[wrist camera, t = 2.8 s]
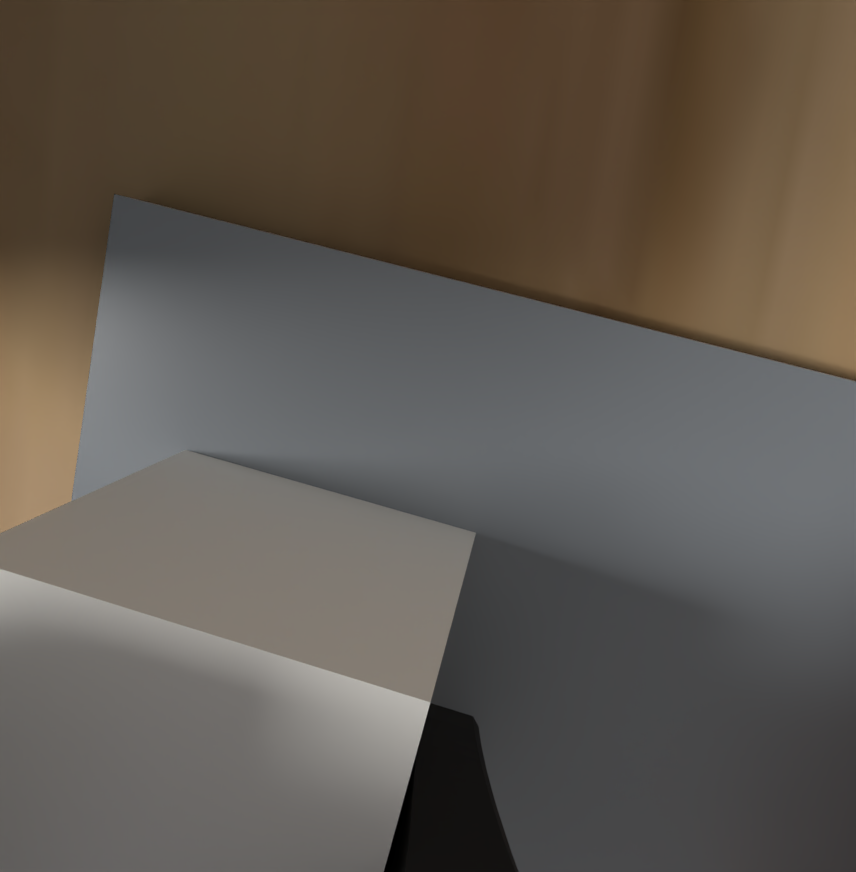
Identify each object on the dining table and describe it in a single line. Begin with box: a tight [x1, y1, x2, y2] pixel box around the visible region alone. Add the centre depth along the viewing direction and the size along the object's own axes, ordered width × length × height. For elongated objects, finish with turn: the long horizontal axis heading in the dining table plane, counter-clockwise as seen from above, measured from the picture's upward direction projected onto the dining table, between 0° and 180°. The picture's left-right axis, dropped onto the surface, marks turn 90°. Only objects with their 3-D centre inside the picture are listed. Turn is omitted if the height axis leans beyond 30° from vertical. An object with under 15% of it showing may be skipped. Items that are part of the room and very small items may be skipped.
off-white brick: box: [0, 450, 476, 872], centre depth 8 cm, size 4×6×4 cm, turn 166°
